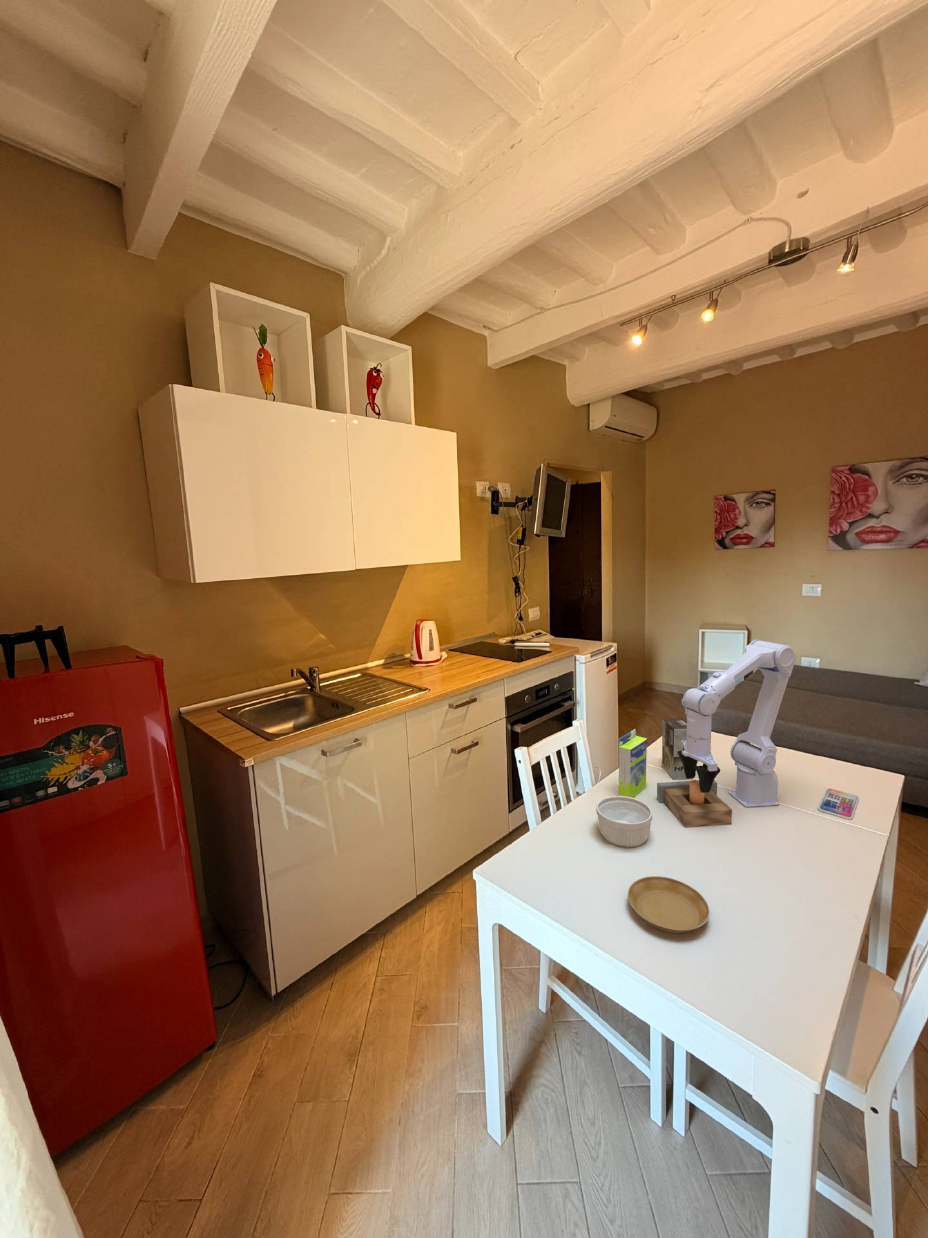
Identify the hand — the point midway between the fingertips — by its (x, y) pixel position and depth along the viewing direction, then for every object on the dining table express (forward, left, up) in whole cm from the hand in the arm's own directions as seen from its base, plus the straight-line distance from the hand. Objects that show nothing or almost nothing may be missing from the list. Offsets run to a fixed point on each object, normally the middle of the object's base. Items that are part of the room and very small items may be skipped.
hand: (697, 784), depth 129 cm
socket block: (0, 0, -8) cm, 8 cm away
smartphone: (-39, 0, -9) cm, 40 cm away
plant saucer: (+23, +33, -9) cm, 41 cm away
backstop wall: (-1, -7, -8) cm, 11 cm away
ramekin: (+22, +7, -9) cm, 25 cm away
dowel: (0, 0, -8) cm, 8 cm away
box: (+12, -13, -8) cm, 20 cm away
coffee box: (-6, -23, -8) cm, 25 cm away
